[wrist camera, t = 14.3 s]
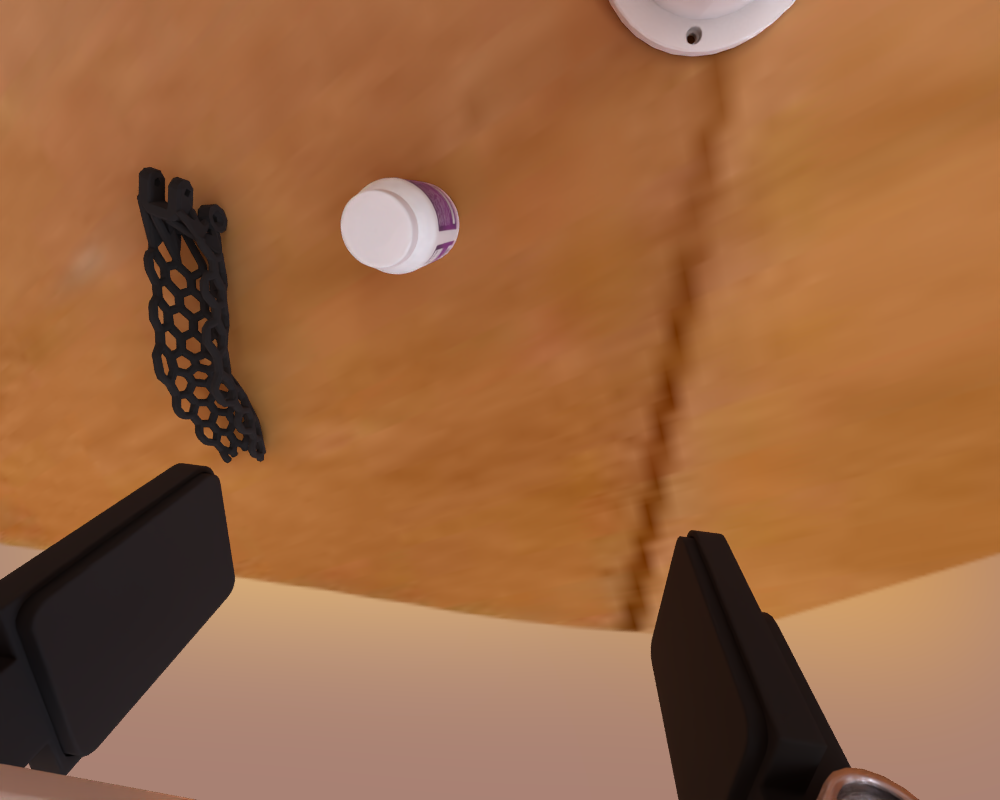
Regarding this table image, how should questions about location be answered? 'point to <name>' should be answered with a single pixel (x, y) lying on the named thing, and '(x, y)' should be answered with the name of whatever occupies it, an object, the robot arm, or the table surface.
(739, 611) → the robot arm
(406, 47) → the table surface
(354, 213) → the pill bottle
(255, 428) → the decorative element
